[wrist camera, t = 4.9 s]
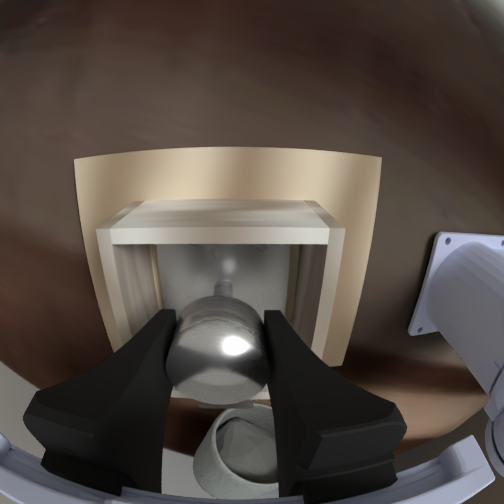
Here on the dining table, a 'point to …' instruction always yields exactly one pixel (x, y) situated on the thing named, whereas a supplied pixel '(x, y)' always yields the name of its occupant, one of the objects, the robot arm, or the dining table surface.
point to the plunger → (221, 315)
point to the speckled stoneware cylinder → (238, 454)
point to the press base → (231, 230)
